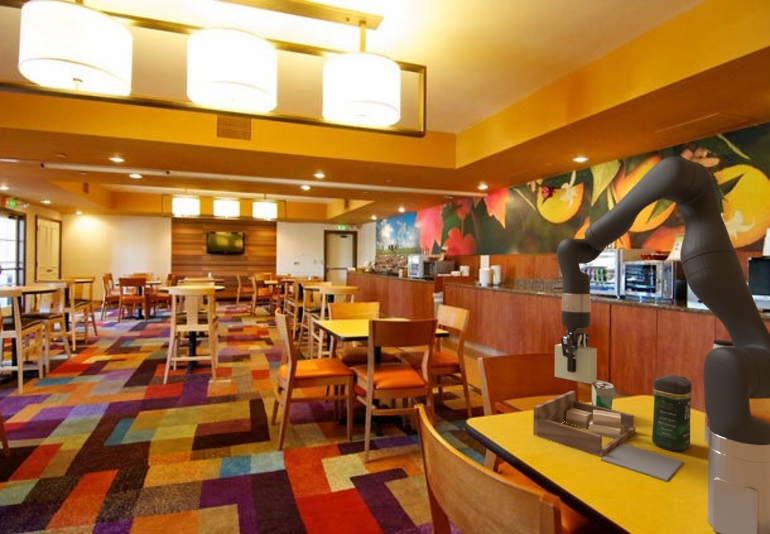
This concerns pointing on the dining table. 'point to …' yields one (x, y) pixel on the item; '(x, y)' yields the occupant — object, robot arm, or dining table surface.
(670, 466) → the mat
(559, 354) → the block
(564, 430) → the tray
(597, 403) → the food container
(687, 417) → the coffee jar
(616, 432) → the offcut
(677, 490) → the dining table surface
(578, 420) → the offcut
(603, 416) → the offcut
